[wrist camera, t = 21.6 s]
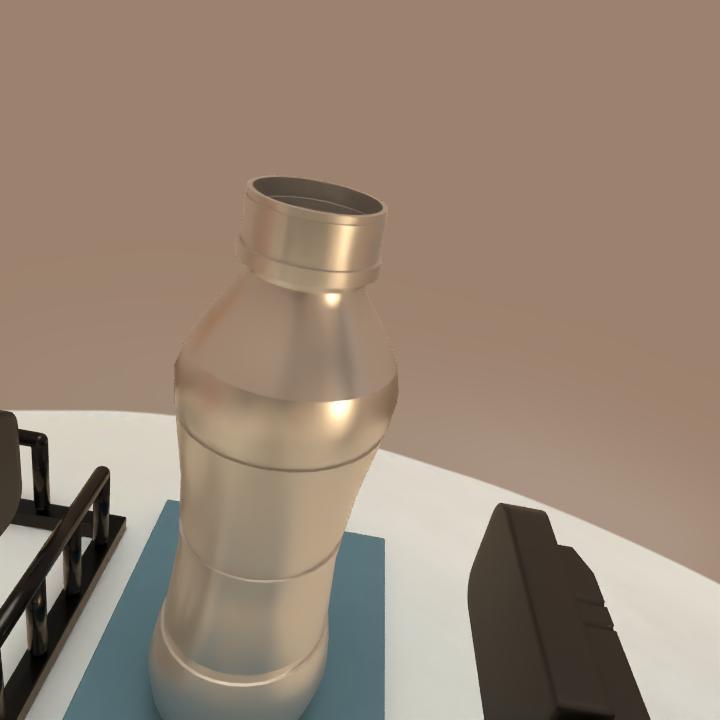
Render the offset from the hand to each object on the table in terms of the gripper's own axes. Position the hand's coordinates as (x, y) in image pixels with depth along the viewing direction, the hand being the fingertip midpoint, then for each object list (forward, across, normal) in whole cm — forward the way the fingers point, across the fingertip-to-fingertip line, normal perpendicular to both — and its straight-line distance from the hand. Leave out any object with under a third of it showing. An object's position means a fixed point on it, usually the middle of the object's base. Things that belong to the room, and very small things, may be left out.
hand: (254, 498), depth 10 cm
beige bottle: (+8, 0, +17) cm, 18 cm away
